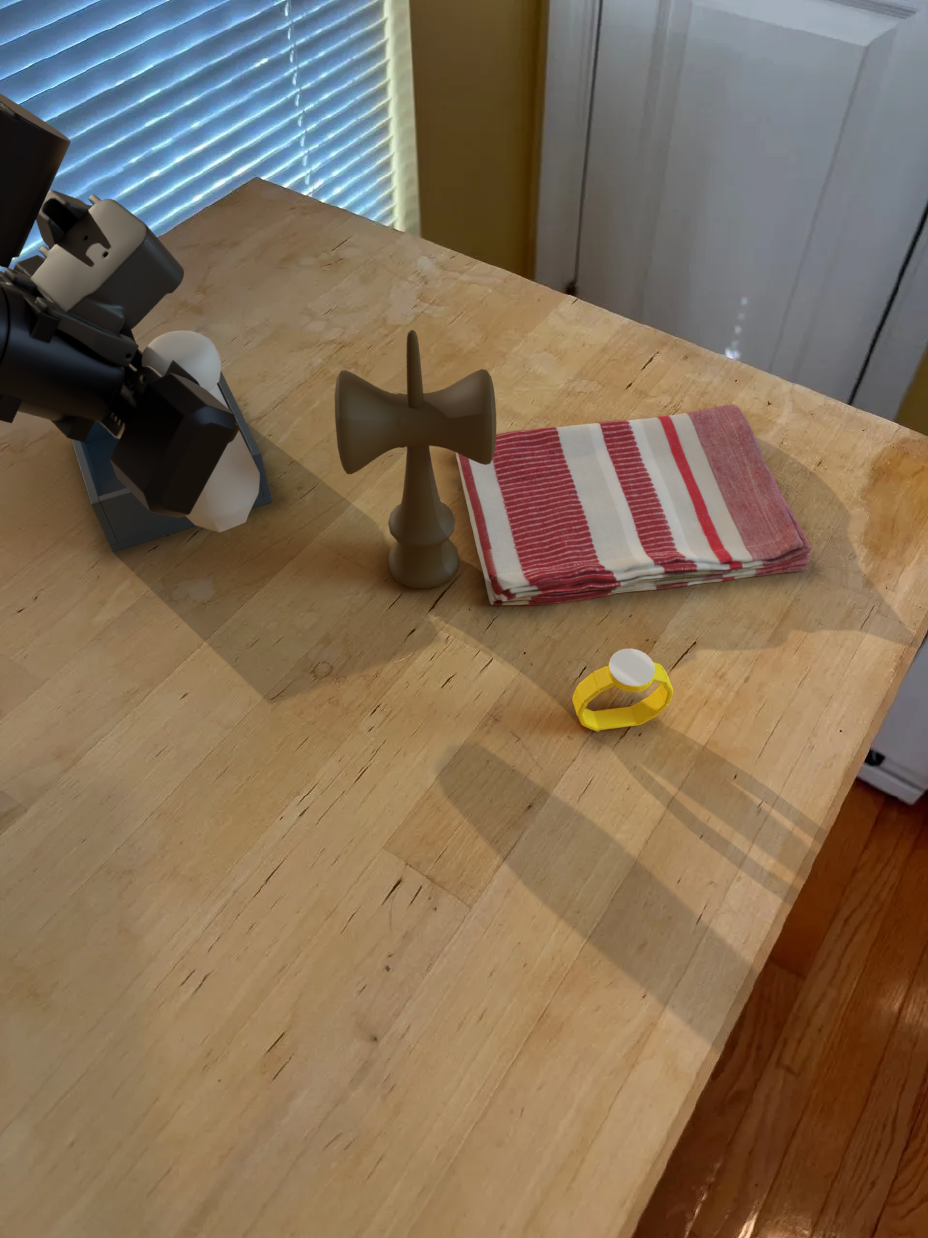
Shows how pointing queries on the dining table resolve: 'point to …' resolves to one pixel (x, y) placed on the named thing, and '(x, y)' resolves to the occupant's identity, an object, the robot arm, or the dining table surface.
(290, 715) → the dining table surface
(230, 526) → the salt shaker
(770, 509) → the dish towel
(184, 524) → the bin
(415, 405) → the kendama
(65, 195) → the robot arm
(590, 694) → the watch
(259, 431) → the dining table surface
